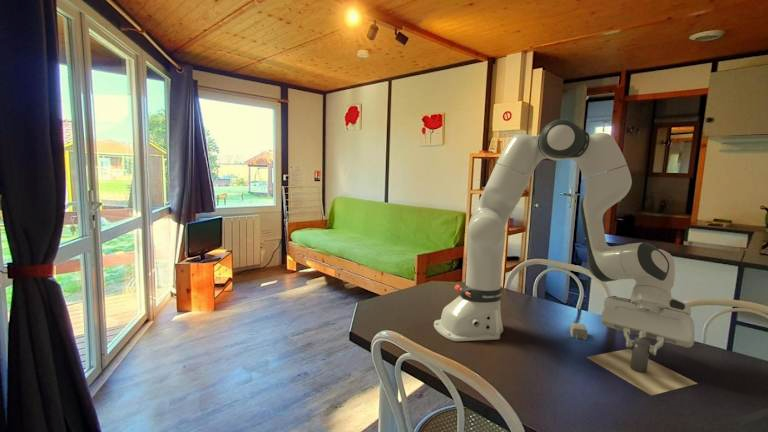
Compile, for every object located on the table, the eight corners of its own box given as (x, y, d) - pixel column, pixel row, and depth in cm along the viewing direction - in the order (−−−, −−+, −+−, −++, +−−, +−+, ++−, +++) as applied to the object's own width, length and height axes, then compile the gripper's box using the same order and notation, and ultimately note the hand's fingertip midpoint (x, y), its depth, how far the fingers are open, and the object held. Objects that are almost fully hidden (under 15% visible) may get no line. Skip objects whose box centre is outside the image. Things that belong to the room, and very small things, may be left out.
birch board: (650, 399, 86) (651, 395, 86) (585, 360, 103) (586, 357, 103) (697, 387, 92) (697, 383, 91) (628, 352, 108) (628, 348, 108)
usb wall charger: (583, 336, 118) (585, 324, 117) (588, 346, 112) (589, 333, 111) (569, 334, 119) (571, 322, 119) (573, 343, 113) (574, 331, 112)
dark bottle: (640, 373, 95) (644, 335, 94) (626, 366, 98) (631, 329, 97) (650, 371, 96) (655, 333, 95) (636, 364, 99) (641, 327, 98)
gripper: (605, 288, 107) (594, 332, 101) (698, 307, 93) (691, 359, 87) (606, 299, 111) (596, 342, 105) (696, 319, 97) (689, 369, 91)
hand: (640, 350), depth 96 cm, fingers closed on dark bottle, 4 cm apart
